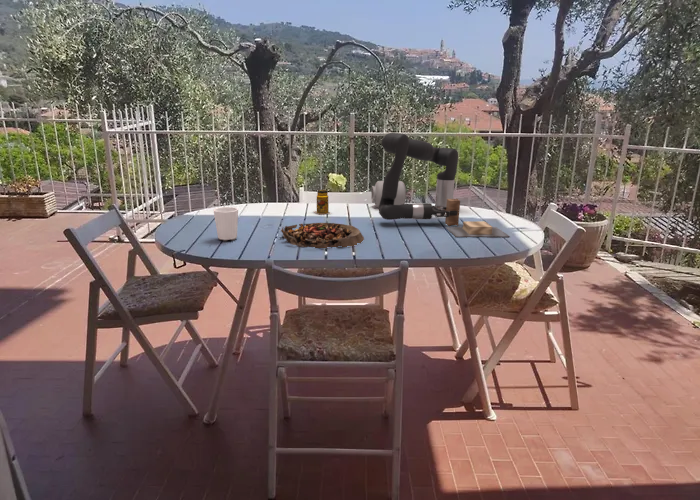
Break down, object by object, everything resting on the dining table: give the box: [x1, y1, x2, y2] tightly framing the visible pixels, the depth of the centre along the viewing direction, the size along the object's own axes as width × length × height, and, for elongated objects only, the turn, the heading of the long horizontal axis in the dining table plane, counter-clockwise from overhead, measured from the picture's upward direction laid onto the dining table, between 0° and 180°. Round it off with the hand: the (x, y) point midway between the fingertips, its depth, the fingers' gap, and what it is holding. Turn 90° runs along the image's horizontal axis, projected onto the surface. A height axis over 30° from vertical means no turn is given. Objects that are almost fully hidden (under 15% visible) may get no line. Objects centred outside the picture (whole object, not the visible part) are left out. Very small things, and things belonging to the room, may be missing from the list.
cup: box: [213, 206, 239, 242], centre depth 201 cm, size 10×10×13 cm
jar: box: [360, 180, 407, 209], centre depth 267 cm, size 19×15×25 cm
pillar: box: [444, 198, 461, 227], centre depth 233 cm, size 5×5×12 cm
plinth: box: [445, 220, 511, 239], centre depth 220 cm, size 24×16×4 cm, turn 94°
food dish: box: [280, 222, 365, 249], centre depth 206 cm, size 35×33×8 cm
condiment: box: [313, 189, 332, 216], centre depth 253 cm, size 7×8×12 cm
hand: (454, 211), depth 233 cm, fingers open, 8 cm apart
